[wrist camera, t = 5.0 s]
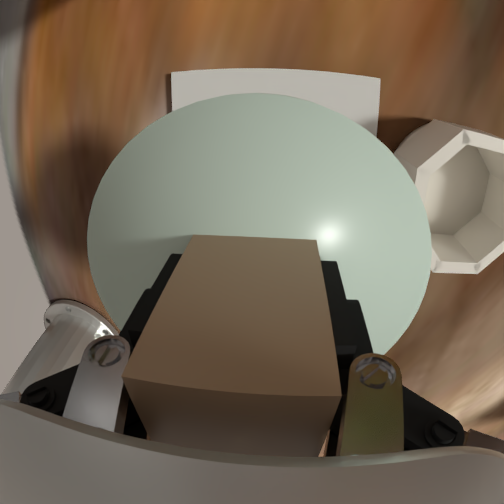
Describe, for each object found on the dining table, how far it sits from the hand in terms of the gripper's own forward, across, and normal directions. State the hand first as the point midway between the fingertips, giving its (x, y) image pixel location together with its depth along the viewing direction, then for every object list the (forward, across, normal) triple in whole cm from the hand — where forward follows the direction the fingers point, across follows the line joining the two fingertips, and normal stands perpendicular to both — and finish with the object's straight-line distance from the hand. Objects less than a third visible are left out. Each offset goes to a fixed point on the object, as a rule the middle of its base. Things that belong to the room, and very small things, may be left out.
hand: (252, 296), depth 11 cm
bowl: (+17, -15, 0) cm, 23 cm away
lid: (+1, 0, 0) cm, 1 cm away
